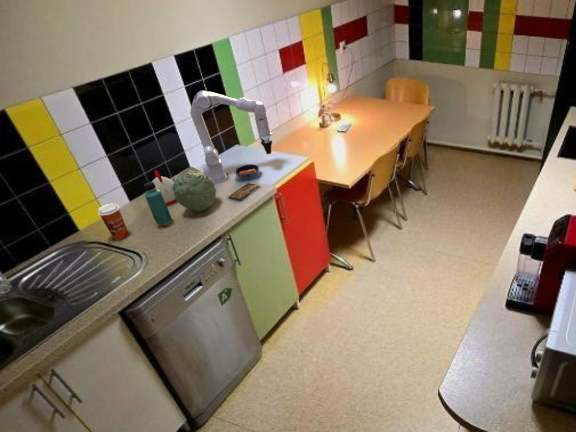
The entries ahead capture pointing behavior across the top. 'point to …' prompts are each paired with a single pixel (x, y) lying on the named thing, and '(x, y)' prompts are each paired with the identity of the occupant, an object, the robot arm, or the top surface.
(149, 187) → the beverage bottle
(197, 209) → the cabbage
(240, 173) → the hot dog
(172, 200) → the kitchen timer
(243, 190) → the board
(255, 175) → the dark blue bowl
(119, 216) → the paper cup
